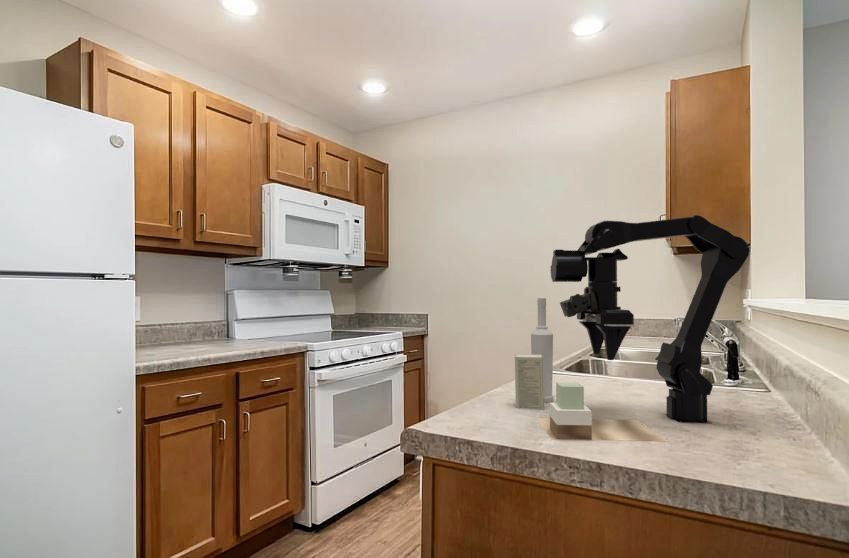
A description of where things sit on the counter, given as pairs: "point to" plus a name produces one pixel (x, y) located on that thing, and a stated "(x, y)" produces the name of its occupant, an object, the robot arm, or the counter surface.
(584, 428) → the tower base
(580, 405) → the green cube
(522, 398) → the skincare box
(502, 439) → the counter surface
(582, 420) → the tower mid
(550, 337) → the bottle
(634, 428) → the cutting board
